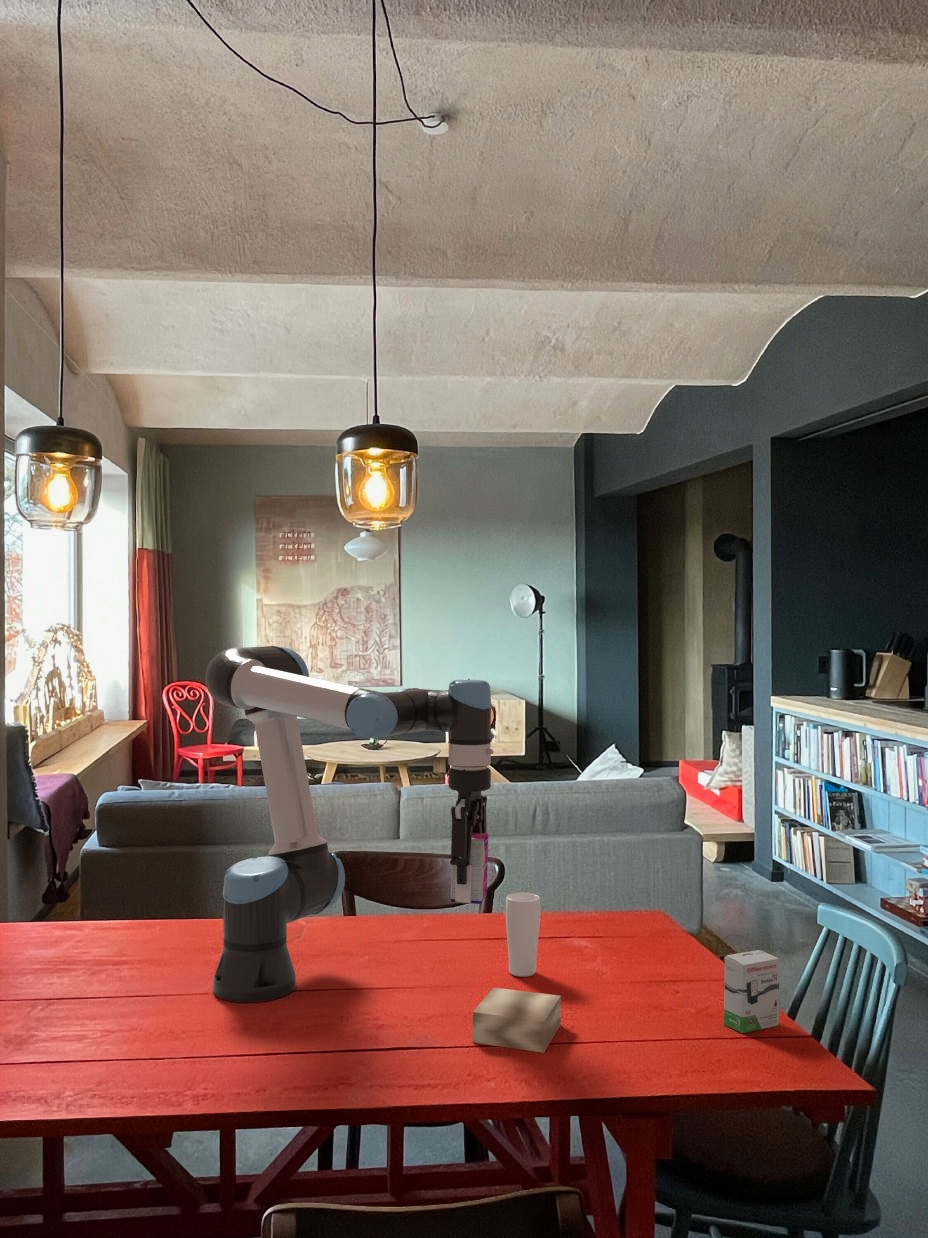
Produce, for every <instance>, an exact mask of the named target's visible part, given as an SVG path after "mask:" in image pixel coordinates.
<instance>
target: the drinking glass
mask: <svg viewBox="0 0 928 1238" xmlns="http://www.w3.org/2000/svg"><path fill="white" fill-rule="evenodd" d="M505 897H506V898H505V926H506V938H507V939H506V940H507V941H506V942H507V957H508V972H509V973H510V975H512V976H514V977H520V978H526V977H531V976H533V975H535V974H536V971H537V957H538V956H537V955H538V944H539V935H540V934H539V933H540V925H541V924H540V923H541V922H540V921H541V898H540V896H539V895H537V894H536V893H530V892H513V893H510V894H507V895H506V896H505Z"/></svg>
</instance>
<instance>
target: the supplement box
mask: <svg viewBox="0 0 928 1238" xmlns="http://www.w3.org/2000/svg"><path fill="white" fill-rule="evenodd" d="M488 860H489V833H472V840H471V851H470V863H469V865H471V903H470V904H473V905H481V904H482V903H483V902H484V900H485V899H486V897H487V896H488V870H489V869H488V867H489V864H488V862H489V861H488ZM450 873H451V875H450V876H451V878H450V899H449V900H450V901H449V902H450V903H454V904H455V903H456V904H457V903H458V904H464V903H463V902H455V865H451V871H450Z"/></svg>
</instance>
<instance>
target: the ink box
mask: <svg viewBox="0 0 928 1238" xmlns="http://www.w3.org/2000/svg"><path fill="white" fill-rule="evenodd" d="M780 960H781V959H780V958H778V957H777V956H775V955H772V954H769V953H768V952H766V951H764V950H760V949H757V950H751V951H746V952H743V951H742V952H738V953H733V954H727V955H726V956H725V957H724V990H723V991H724V992H723V993H724V994H723V996H724V997H723V1009H724V1010H723V1026H726V1027H728V1028H730V1029H732V1030H735V1031H736V1032H738V1033H741V1034H748V1033H752V1032H756V1031H760V1030H761V1031H762V1030H765V1029H769V1028H773V1027H778V1026H779V1025H780V1024H779V1022H780V1021H779V1019H780V976H781V975H780V972H781V970H780V968H781V967H780V966H781V964H780V962H781V961H780Z"/></svg>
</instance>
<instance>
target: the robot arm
mask: <svg viewBox="0 0 928 1238" xmlns="http://www.w3.org/2000/svg"><path fill="white" fill-rule="evenodd" d="M205 686H206V689H207V691H208V693H209V695H210V696H211V697H212V698H213V700H215V701H216V702H217V703H219V704H222V705H223V706H227V707H232V708H236V709H240V710H244V717H245V718H246V719H247V720H248V721H249V722H251V723H252V724H253V725H254V727H255V734H256V740H257V745H258V746H257V747H258V751H259V752H258V753H259V757H260V763H261V768H262V769H261V770H262V774H263V775H262V776H263V780H264V787H265V793H266V798H267V799H266V800H267V803H268V804H267V805H268V809H269V810H268V811H269V816H270V822H271V827H272V834H273V838H274V844H273V845H272V848H271V849H270V850H269V851H268V856H266V855H265V856H258V857H256V858H253V857H251V858H247V859H243V860H241V861H238V862H236V863H234V864H232V865H231V866H230V867H229V868H228V869H227V870H226V872H225V874H224V877H223V878H224V880H223V888H222V896H223V897H222V898H223V899H222V903H223V906H222V907H223V911H222V912H223V913H222V914H223V916H222V917H223V919H222V920H223V921H222V922H223V924H222V925H223V926H222V927H223V932H222V933H223V934H222V935H223V942H222V943H223V944H222V945H223V946H222V952H221V954H220V958H219V961H218V965H217V966H216V970H215V973H214V977H213V982H212V983H213V989H212V990H213V994H214V995H215V996H216V997H218V998H220V999H222V1000H224V1001H230V1002H234V1003H261V1002H268V1001H272V1000H276V999H280V998H283V997H285V996H287V995H289V994H291V993H292V992H293V991H294V990H295V989H296V987H297V985H296V984H297V981H296V980H297V979H296V978H297V976H296V970H295V968H294V965H293V961H292V959H291V955H290V951H289V948H288V944H287V943H288V941H287V937H288V936H287V935H288V932H287V928H288V925H287V924H288V923H292V922H295V921H297V920H301V919H302V918H305V917H308V916H311V915H319V914H320V913H322V912H323V911H325V910H327V909H329V908H331V907H332V906H333V905H335V904H336V903H337V902H338V900H339V899H340V898H341V895H342V893H343V891H344V889H345V883H346V882H345V881H346V875H345V868H344V865H343V862H342V861H341V859H340V858H339V857H337V854H336V853H334V852H333V851H331V850H329V847H328V846H329V845H328V841H327V840H326V839H325V838H324V837H322V836H321V835H320V834H319V832H318V828H317V823H316V817H315V810H314V805H313V799H312V794H311V789H310V782H309V777H308V776H309V775H308V772H307V766H306V761H305V759H306V758H305V755H304V748H303V744H302V737H301V732H300V726H299V720H298V718H302V719H306V720H311V721H314V722H318V723H323V724H326V725H331V726H334V727H339V728H343V729H348V730H350V731H351V732H353V734H354V735H355V736H357V737H358V738H361V739H374V740H375V739H376V740H378V739H382V738H385V737H386V738H387V737H391V736H396V735H401V734H403V735H404V734H411V733H417V732H423V731H424V732H425V731H428V732H442V733H448V758H447V759H448V762H447V764H448V765H449V766H451V767H450V768H449V769H448V788H449V789H450V790H452V791H456V792H457V793H458V794H457V799H456V801H455V805H452V806H451V809H450V811H451V812H450V813H451V838H450V839H451V843H450V847H451V848H450V851H451V852H450V861H449V863H450V865H451V866H452V865H455V902H463V903H462V904H471V865H469V863H470V851H471V840H472V833H487V805H488V804H487V802H488V796H487V795H483V794H482V792H485V791H488V790H490V789H491V787H492V780H491V779H492V773H491V772H492V771H491V769H490V768H489V766H490V765H491V755H493V754H494V749H492V748H491V747H492V746H491V739H492V738H491V734H492V733H491V729H492V728H491V725H492V724H491V721H492V720H491V719H492V708H493V704H492V696H491V685H490V684H489V682H488V681H486V680H484V679H483V680H482V679H454V680H451V681H449V684H448V689H446V690H443V689H442V690H439V689H426V688H418V687H413V688H401V689H398V690H396V691H393V692H389V691H388V692H382V691H377V690H372V689H365V688H363V687H358V686H353V685H349V684H344V683H339V682H334V681H330V680H325V679H322V678H321V679H320V678H317V677H311V676H310V672H309V670H308V665H307V664H306V662H305V660H304V658H303V657H302V656H301V655H300V654H299V653H297V652H296V651H295V650H293V649H292V648H289V647H284V646H277V645H270V646H268V645H267V646H252V647H251V646H249V647H245V646H244V647H242V646H241V647H237V646H236V647H231V648H228V649H224V650H221V651H220V652H218V653H217V654H216V655H215V656H214V657H213V658H212V659H211V660H210V662H209V664H208V666H207V668H206V671H205ZM487 834H488V833H487Z"/></svg>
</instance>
